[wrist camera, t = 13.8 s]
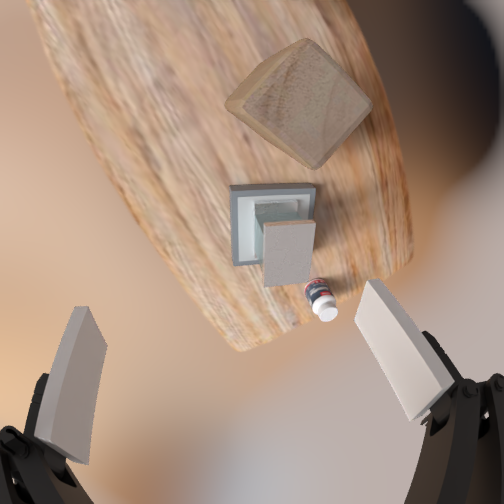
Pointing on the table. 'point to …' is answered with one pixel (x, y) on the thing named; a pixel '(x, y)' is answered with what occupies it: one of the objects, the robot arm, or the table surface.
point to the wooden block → (301, 103)
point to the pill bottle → (321, 299)
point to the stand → (244, 212)
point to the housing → (282, 242)
